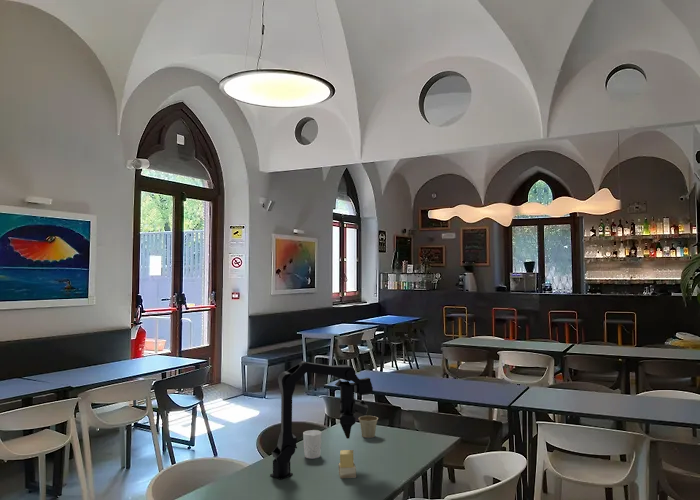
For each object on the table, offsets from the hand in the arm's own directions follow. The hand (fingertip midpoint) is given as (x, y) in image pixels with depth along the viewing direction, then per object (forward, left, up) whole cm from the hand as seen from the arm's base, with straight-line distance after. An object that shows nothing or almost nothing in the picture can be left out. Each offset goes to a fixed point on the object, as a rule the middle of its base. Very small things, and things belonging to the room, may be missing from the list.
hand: (347, 435), depth 226 cm
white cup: (0, +20, -13) cm, 24 cm away
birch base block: (-8, -6, -13) cm, 16 cm away
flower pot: (+37, +18, -13) cm, 43 cm away
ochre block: (-8, -6, -9) cm, 13 cm away
